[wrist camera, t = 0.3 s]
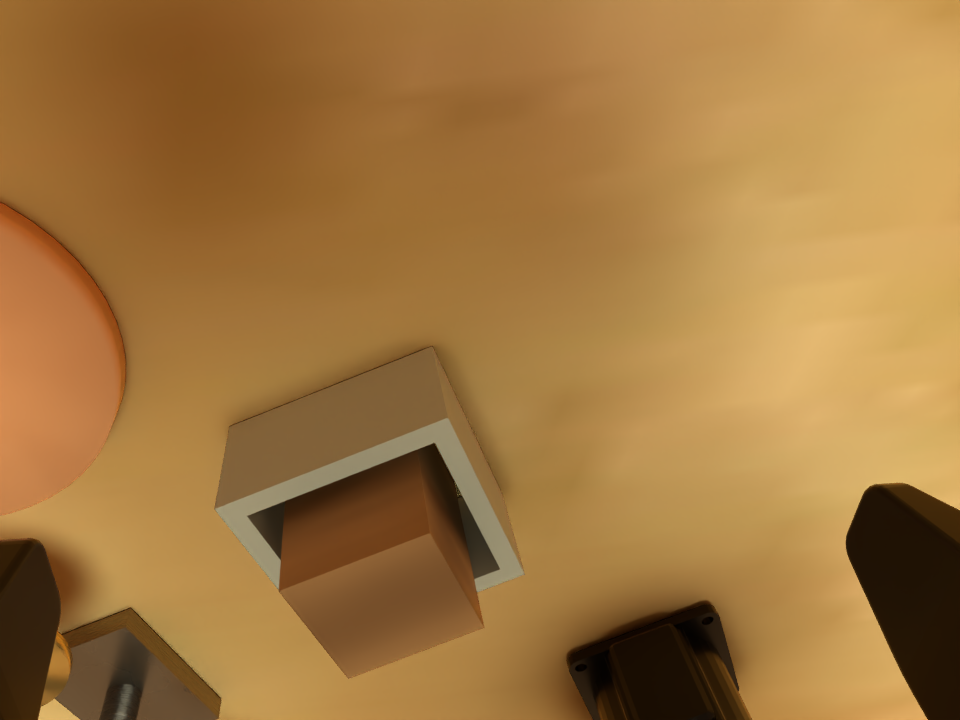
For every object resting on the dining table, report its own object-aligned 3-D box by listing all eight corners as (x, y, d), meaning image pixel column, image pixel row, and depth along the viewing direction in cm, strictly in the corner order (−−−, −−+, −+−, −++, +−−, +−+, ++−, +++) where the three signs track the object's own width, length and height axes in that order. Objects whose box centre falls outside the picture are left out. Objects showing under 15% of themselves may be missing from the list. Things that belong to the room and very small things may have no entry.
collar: (502, 494, 26) (524, 574, 23) (326, 562, 27) (326, 649, 24) (432, 345, 23) (447, 417, 20) (229, 426, 23) (214, 509, 20)
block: (454, 481, 26) (484, 627, 21) (344, 523, 26) (348, 678, 21) (408, 393, 23) (429, 532, 18) (289, 440, 24) (278, 591, 19)
